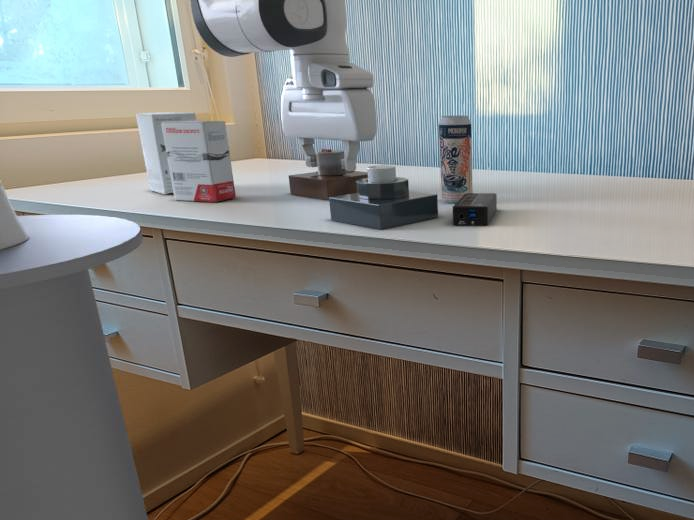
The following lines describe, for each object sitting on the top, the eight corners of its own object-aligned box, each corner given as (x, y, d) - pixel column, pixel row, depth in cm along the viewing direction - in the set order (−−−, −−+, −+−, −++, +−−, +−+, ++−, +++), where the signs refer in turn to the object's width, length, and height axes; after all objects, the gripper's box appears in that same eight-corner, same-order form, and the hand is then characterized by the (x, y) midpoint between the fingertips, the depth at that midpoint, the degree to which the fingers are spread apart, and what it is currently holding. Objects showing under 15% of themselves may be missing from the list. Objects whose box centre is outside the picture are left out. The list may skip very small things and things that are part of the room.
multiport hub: (497, 210, 95) (497, 193, 94) (487, 225, 85) (487, 206, 84) (465, 209, 96) (465, 192, 95) (452, 225, 86) (451, 206, 85)
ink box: (237, 197, 109) (226, 119, 105) (215, 202, 105) (202, 121, 100) (196, 195, 112) (183, 119, 108) (173, 200, 108) (158, 121, 103)
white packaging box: (164, 195, 113) (149, 113, 108) (149, 190, 118) (134, 112, 113) (208, 190, 118) (196, 112, 113) (192, 186, 123) (179, 111, 118)
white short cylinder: (380, 186, 86) (379, 169, 86) (362, 183, 89) (361, 167, 88) (402, 182, 89) (401, 166, 88) (383, 180, 91) (382, 164, 90)
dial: (351, 173, 111) (349, 149, 109) (328, 176, 108) (325, 151, 107) (336, 171, 114) (334, 147, 112) (313, 174, 111) (310, 149, 110)
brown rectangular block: (327, 200, 106) (325, 179, 104) (290, 194, 112) (288, 174, 111) (377, 191, 112) (376, 172, 111) (339, 186, 119) (338, 168, 117)
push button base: (380, 229, 84) (377, 188, 82) (330, 220, 90) (327, 181, 88) (438, 217, 91) (437, 178, 89) (388, 209, 97) (385, 173, 95)
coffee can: (437, 203, 101) (434, 117, 96) (445, 198, 105) (442, 115, 101) (469, 203, 100) (467, 116, 96) (475, 198, 104) (474, 115, 100)
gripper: (266, 77, 110) (277, 166, 115) (346, 74, 97) (354, 175, 102) (299, 76, 114) (308, 162, 119) (380, 74, 101) (386, 171, 107)
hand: (330, 168), depth 111 cm, fingers open, 8 cm apart
